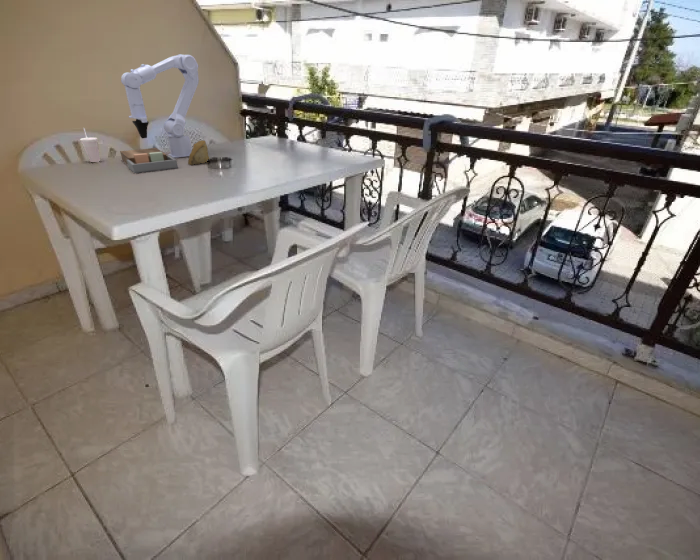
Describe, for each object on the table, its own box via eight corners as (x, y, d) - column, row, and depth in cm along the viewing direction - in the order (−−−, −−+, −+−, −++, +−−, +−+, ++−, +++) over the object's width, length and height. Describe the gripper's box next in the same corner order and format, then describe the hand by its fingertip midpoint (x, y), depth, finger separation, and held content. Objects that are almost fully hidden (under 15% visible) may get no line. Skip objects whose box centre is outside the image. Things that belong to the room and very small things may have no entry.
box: (170, 163, 168) (169, 155, 166) (178, 168, 161) (176, 159, 159) (128, 168, 158) (126, 159, 156) (134, 173, 152) (132, 164, 150)
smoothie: (85, 161, 166) (74, 127, 159) (102, 159, 170) (92, 126, 163) (88, 164, 162) (78, 129, 155) (105, 162, 166) (95, 128, 159)
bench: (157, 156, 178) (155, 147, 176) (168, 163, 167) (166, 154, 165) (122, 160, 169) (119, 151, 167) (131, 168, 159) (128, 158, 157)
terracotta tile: (146, 153, 160) (147, 154, 159) (148, 165, 162) (150, 166, 161) (133, 154, 157) (134, 155, 156) (136, 166, 160) (137, 167, 158)
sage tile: (161, 151, 163) (162, 152, 162) (163, 163, 166) (164, 164, 164) (148, 152, 160) (149, 153, 159) (151, 164, 163) (152, 165, 162)
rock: (187, 161, 162) (211, 157, 166) (181, 143, 163) (204, 138, 166) (190, 171, 173) (212, 167, 176) (184, 154, 173) (206, 150, 176)
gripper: (121, 103, 163) (129, 136, 170) (130, 106, 154) (139, 141, 161) (139, 102, 167) (146, 134, 174) (149, 106, 158) (156, 139, 165)
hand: (144, 137), depth 168 cm, fingers closed
